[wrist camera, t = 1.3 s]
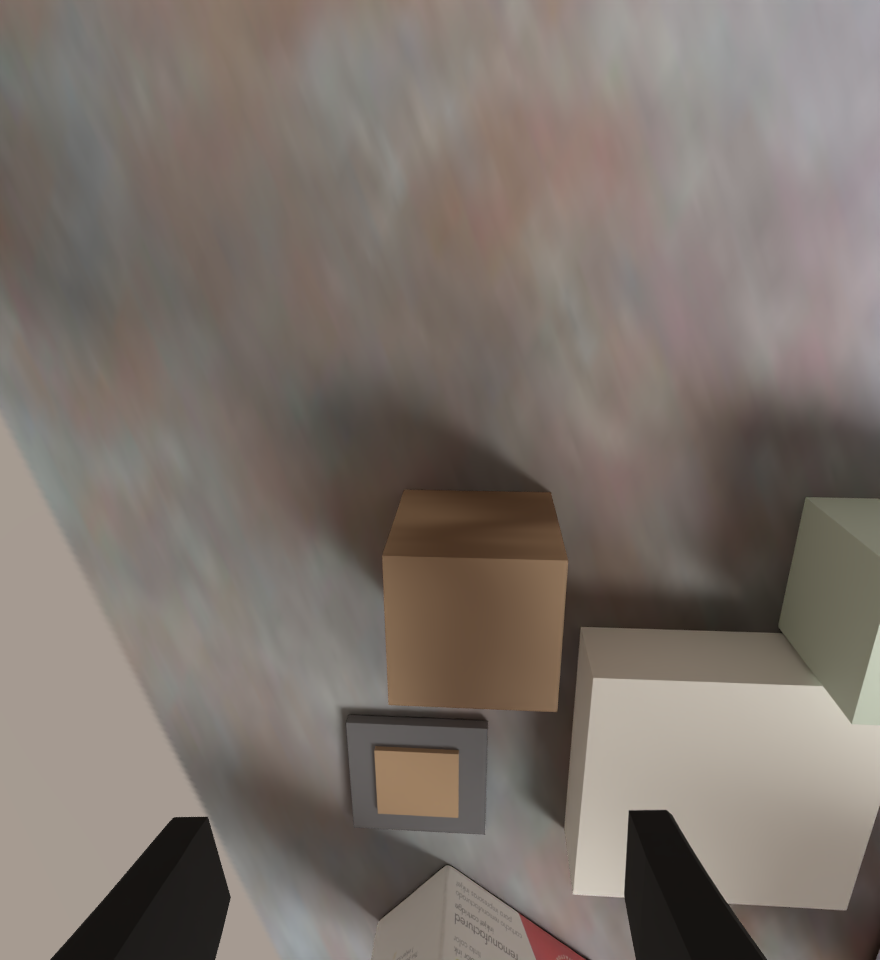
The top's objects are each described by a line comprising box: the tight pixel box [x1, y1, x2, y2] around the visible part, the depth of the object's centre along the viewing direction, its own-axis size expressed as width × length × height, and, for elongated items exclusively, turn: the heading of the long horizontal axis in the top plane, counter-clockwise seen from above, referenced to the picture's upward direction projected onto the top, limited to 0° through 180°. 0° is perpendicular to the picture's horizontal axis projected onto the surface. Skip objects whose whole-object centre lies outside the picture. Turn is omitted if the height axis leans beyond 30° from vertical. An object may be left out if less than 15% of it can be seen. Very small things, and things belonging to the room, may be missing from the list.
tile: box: [346, 715, 488, 835], centre depth 23 cm, size 5×5×1 cm
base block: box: [564, 627, 880, 910], centre depth 21 cm, size 9×9×3 cm
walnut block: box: [382, 490, 568, 712], centre depth 18 cm, size 4×4×4 cm
